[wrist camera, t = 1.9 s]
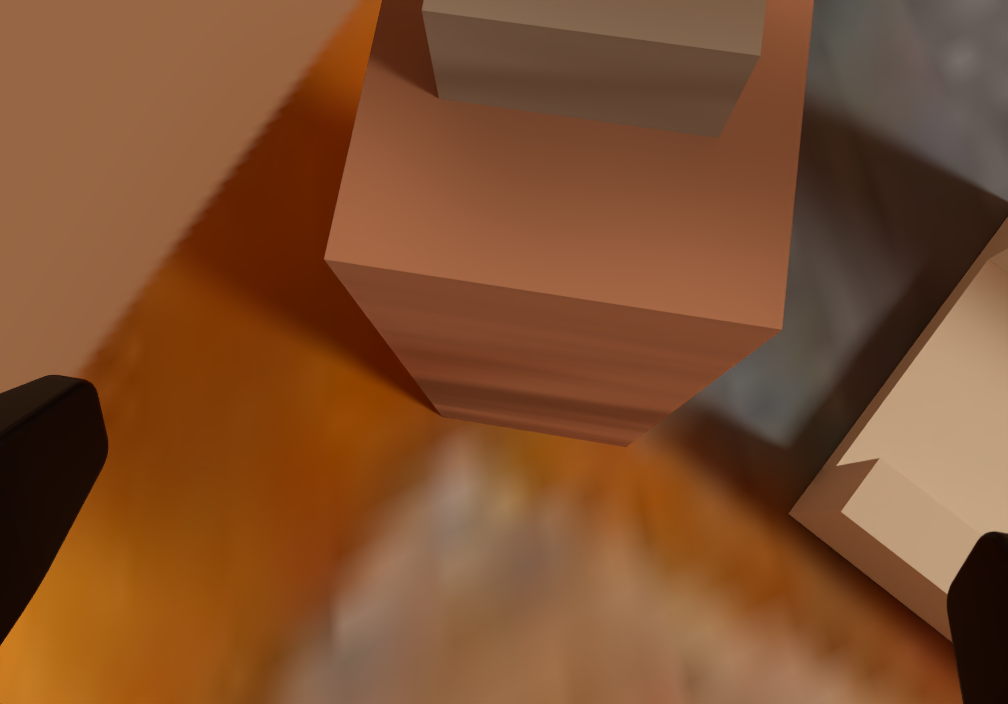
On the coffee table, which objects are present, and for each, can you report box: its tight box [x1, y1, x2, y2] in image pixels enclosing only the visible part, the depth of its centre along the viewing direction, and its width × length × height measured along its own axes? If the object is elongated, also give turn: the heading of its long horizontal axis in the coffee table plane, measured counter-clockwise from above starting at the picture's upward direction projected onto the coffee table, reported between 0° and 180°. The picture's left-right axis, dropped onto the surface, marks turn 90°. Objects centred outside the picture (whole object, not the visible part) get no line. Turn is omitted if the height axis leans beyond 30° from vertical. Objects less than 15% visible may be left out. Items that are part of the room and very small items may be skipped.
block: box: [324, 0, 814, 447], centre depth 15 cm, size 5×5×15 cm
